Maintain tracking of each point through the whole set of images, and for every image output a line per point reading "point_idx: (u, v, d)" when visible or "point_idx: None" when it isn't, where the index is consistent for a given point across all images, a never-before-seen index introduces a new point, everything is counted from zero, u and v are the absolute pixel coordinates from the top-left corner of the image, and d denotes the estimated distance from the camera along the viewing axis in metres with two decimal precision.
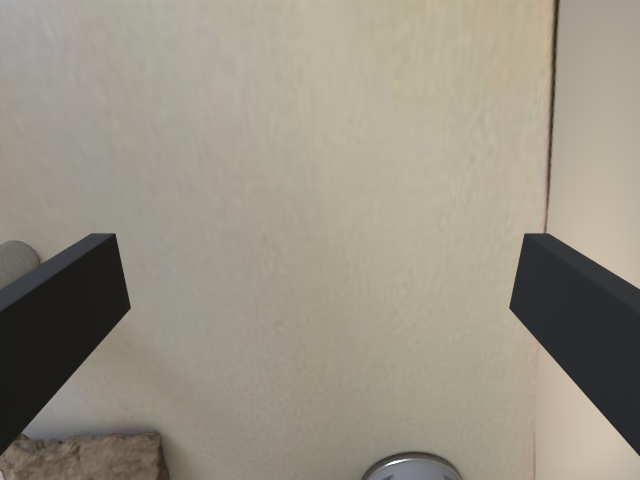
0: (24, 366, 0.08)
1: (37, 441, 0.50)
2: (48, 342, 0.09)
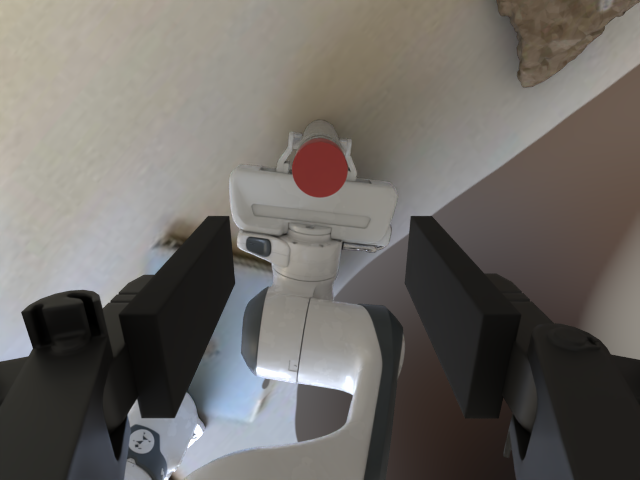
0: (194, 320, 0.10)
1: (517, 46, 0.45)
2: (204, 303, 0.11)
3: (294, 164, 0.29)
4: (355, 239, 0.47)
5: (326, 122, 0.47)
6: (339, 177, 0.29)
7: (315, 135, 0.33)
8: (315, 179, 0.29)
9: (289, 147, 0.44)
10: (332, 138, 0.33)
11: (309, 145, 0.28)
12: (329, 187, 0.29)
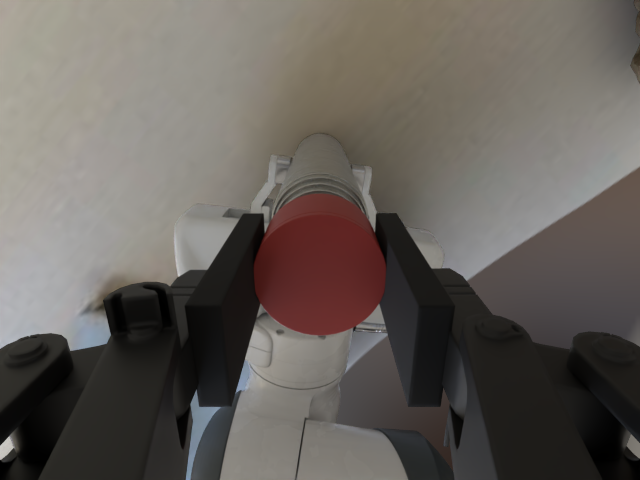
0: (243, 313, 0.10)
1: (637, 17, 0.28)
2: (249, 297, 0.11)
3: (258, 265, 0.12)
4: (375, 321, 0.30)
5: (330, 138, 0.31)
6: (366, 294, 0.12)
7: (310, 179, 0.16)
8: (309, 298, 0.12)
9: (270, 181, 0.27)
10: (345, 184, 0.16)
11: (293, 222, 0.11)
12: (342, 314, 0.12)
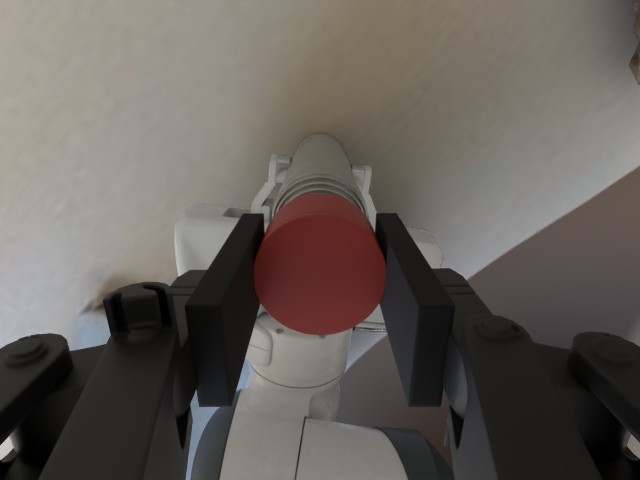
0: (242, 313, 0.10)
1: (636, 18, 0.28)
2: (248, 297, 0.11)
3: (352, 323, 0.13)
4: (374, 320, 0.30)
5: (329, 138, 0.31)
6: (295, 237, 0.11)
7: (310, 178, 0.16)
8: (342, 271, 0.12)
9: (270, 180, 0.27)
10: (345, 184, 0.16)
11: (298, 329, 0.13)
12: (331, 235, 0.11)
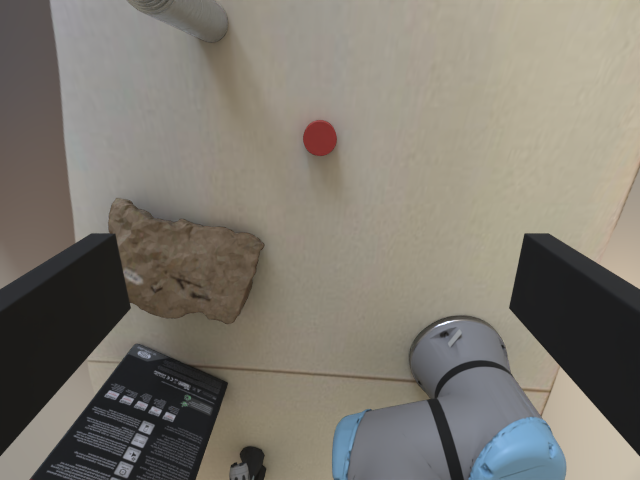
0: (24, 366, 0.08)
1: (150, 214, 0.52)
2: (48, 342, 0.09)
3: (307, 148, 0.48)
4: None
5: (212, 38, 0.44)
6: (330, 132, 0.48)
7: None
8: (322, 144, 0.48)
9: None
10: (155, 11, 0.30)
11: (304, 133, 0.48)
12: (331, 141, 0.48)
